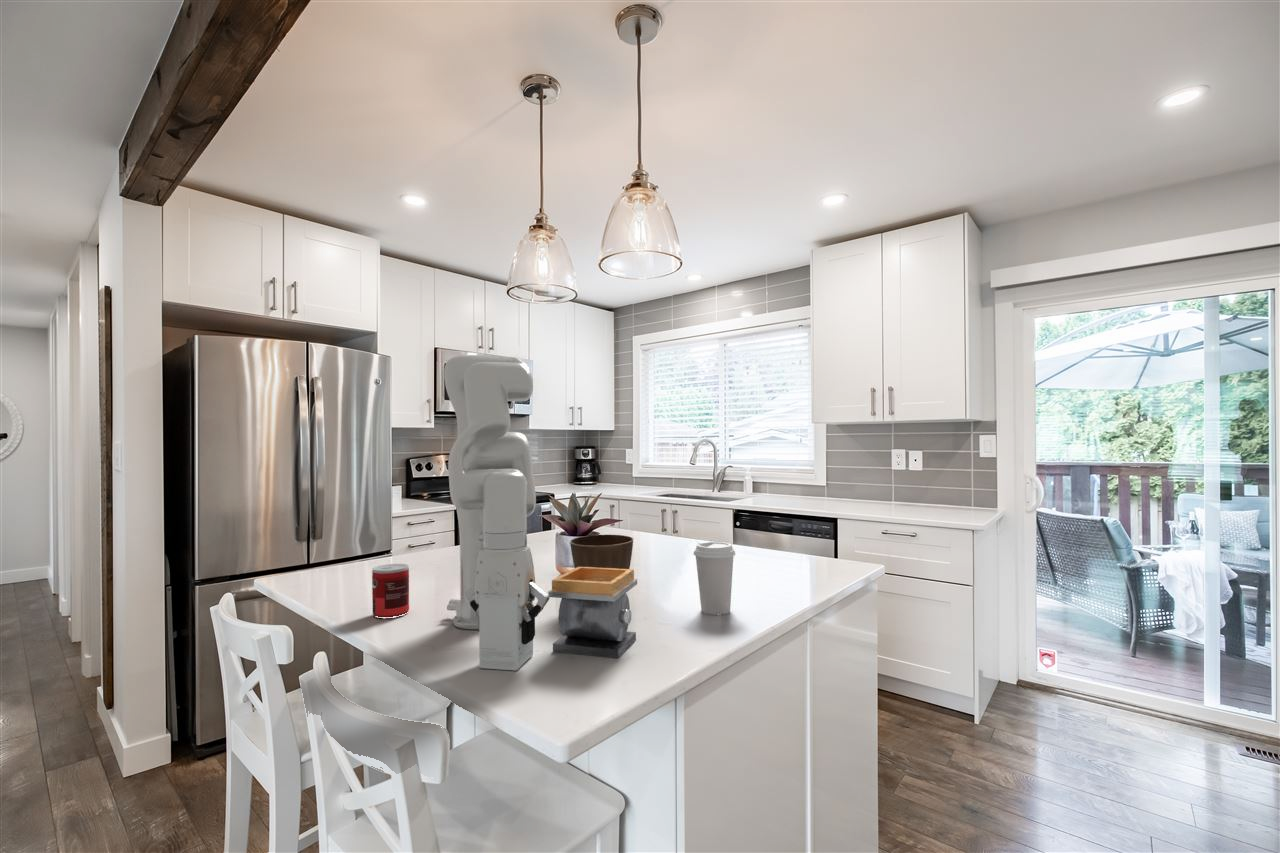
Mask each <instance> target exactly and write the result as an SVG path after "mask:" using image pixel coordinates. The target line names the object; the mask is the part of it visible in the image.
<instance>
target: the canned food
mask: <svg viewBox="0 0 1280 853" xmlns="http://www.w3.org/2000/svg"><path fill="white" fill-rule="evenodd" d="M371 577H372V578H371V580H372V581H371V584H372V585H371V586H372V588H371V590H372V592H371V593H372V596H371V597H372V615H373V617H374V616H378V617H393V616H399V615H402V614H405V613H407V612H408V613H409V610H410V567H409V565H408V564H406V563H387V564H381V565H377V566H374V567H373V568H372V571H371ZM408 613H407V614H408Z"/></svg>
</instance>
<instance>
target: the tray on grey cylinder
mask: <svg viewBox="0 0 1280 853" xmlns="http://www.w3.org/2000/svg"><path fill="white" fill-rule="evenodd" d="M637 585H638V578H635V569H631V568H629V569H616V568H596V567H577V568H575V567H574V568H572V569H570V570H569V571H568V572H567V571H566V572H565V573H563V574H562V575H559V576H557V577H555V578H553V579H551V589H550V590H549V591H548V592H547V594H548V595H549V597H550V598H558V599H560V604H559V608H558V628H559V630H560V633H561V634H562V636H561V637H560V638H558V639H557V640H556V641H554V642H553V643H552V652H553V653H563V654H573V655H584V656H593V657H603V658H610V659H611V658H612V659H619V658H620V657H621V656H622V655H624V653H625V652H626V651H627V650H628V649H629V648H630V647H631V646H632V645H633V644H634V643H635V642H636V640H637V631H636V632H635V631H628V628H629V624H631V621H632V611H631V609H630V600H629V596H628V594H627V593H628V592H629V591H630V590H632V589H633V588H634V587H636V586H637Z"/></svg>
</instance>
